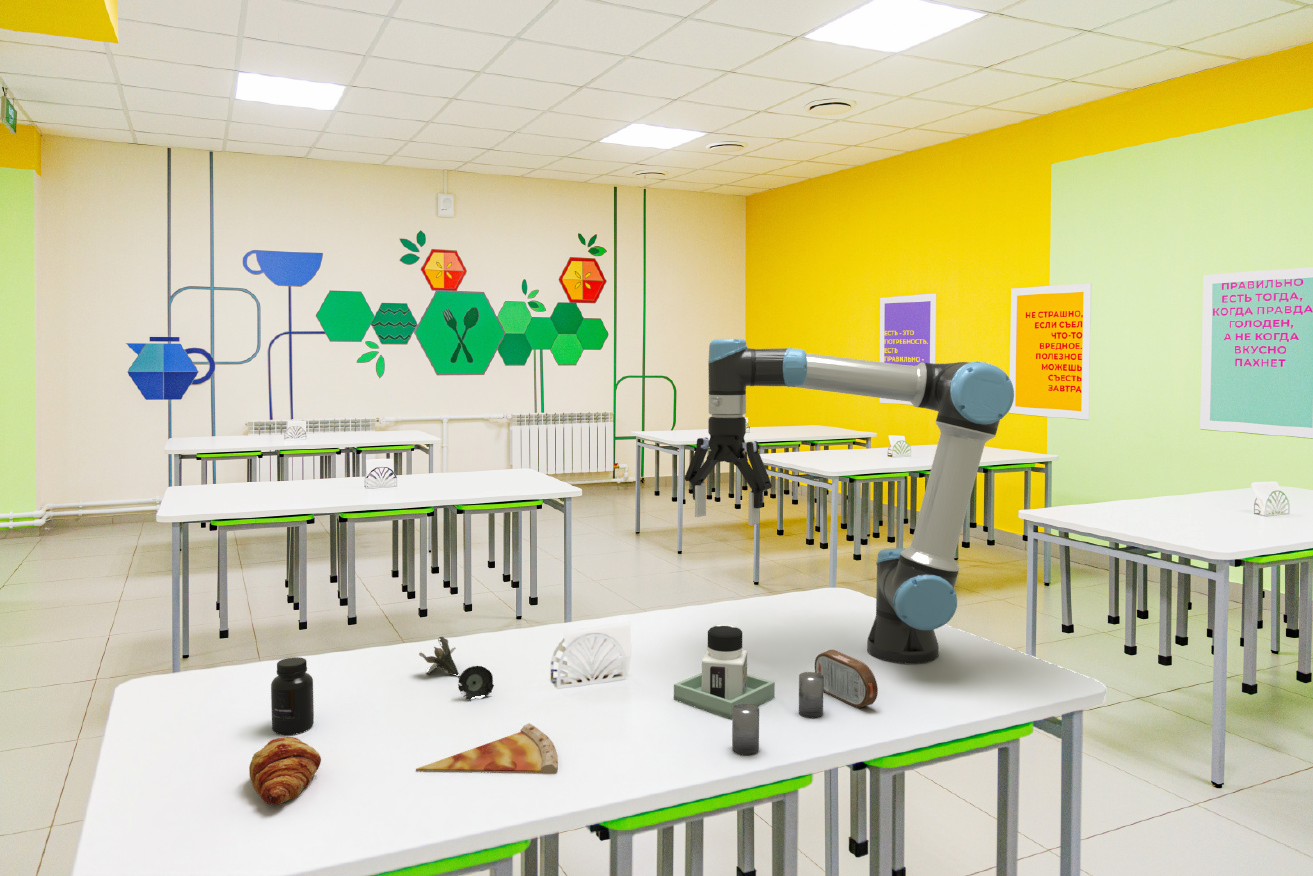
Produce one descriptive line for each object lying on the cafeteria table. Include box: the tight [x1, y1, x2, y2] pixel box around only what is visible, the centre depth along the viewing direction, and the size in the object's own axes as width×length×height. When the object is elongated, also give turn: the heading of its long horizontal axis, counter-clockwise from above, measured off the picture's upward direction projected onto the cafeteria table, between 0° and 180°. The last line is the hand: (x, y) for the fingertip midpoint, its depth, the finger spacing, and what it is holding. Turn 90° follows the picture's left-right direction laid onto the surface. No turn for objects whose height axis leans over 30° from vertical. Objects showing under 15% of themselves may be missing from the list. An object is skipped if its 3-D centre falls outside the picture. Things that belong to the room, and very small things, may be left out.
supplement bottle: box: [270, 656, 315, 736], centre depth 154 cm, size 7×7×12 cm
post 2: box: [798, 671, 825, 720], centre depth 160 cm, size 4×4×7 cm
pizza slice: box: [415, 722, 559, 775], centre depth 146 cm, size 16×22×2 cm
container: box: [701, 624, 748, 701], centre depth 167 cm, size 8×8×13 cm
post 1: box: [731, 704, 760, 757], centre depth 145 cm, size 4×4×7 cm
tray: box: [673, 672, 775, 720], centre depth 167 cm, size 14×14×3 cm
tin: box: [814, 649, 879, 709], centre depth 167 cm, size 15×3×8 cm, turn 31°
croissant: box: [248, 735, 322, 806], centre depth 135 cm, size 21×10×8 cm, turn 18°
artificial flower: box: [418, 636, 495, 700], centre depth 176 cm, size 9×22×10 cm, turn 29°
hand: (726, 520), depth 179 cm, fingers open, 13 cm apart
